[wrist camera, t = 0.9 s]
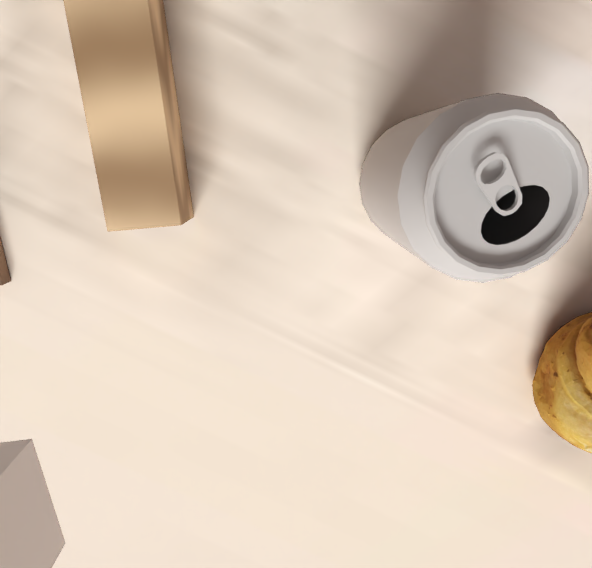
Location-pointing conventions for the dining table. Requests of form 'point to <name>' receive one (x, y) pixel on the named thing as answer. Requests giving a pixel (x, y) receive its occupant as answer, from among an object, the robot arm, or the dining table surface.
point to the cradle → (3, 267)
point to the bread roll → (567, 382)
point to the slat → (131, 111)
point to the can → (478, 186)
